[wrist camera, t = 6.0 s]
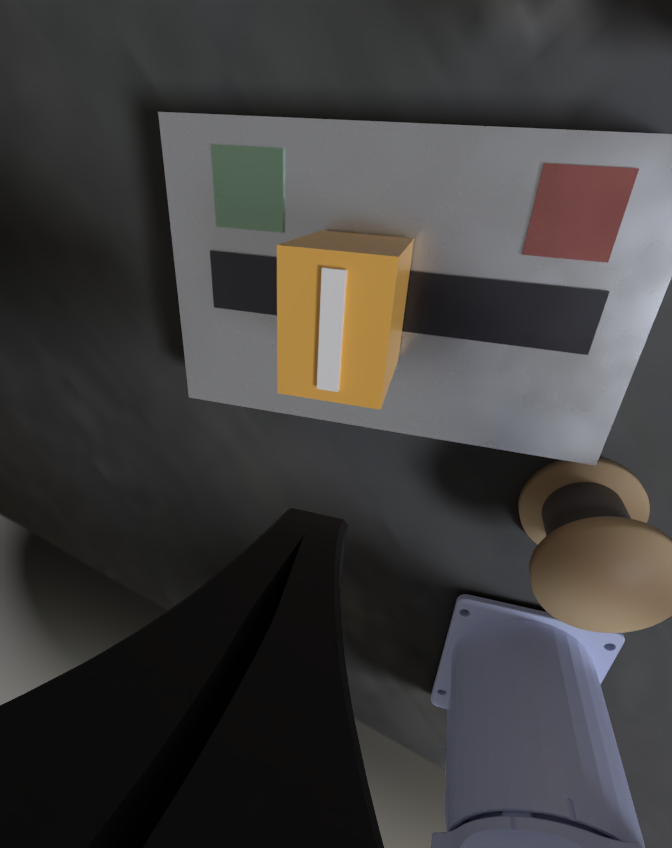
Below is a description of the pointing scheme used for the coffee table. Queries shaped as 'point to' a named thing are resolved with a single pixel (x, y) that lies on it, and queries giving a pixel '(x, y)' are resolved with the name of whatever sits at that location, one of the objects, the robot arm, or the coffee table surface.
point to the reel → (596, 547)
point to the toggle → (340, 315)
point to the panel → (432, 265)
